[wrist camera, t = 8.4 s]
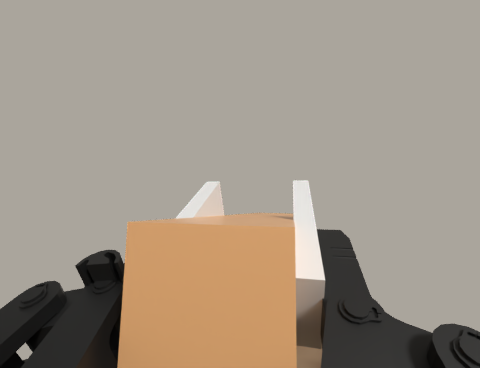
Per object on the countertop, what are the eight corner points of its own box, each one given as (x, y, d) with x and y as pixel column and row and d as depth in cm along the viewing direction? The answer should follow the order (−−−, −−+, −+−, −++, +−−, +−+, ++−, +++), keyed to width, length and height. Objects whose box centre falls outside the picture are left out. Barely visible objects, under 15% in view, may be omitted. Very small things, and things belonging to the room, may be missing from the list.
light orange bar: (114, 400, 5) (127, 221, 6) (258, 247, 26) (258, 212, 27) (297, 445, 4) (295, 227, 5) (293, 249, 26) (293, 213, 26)
